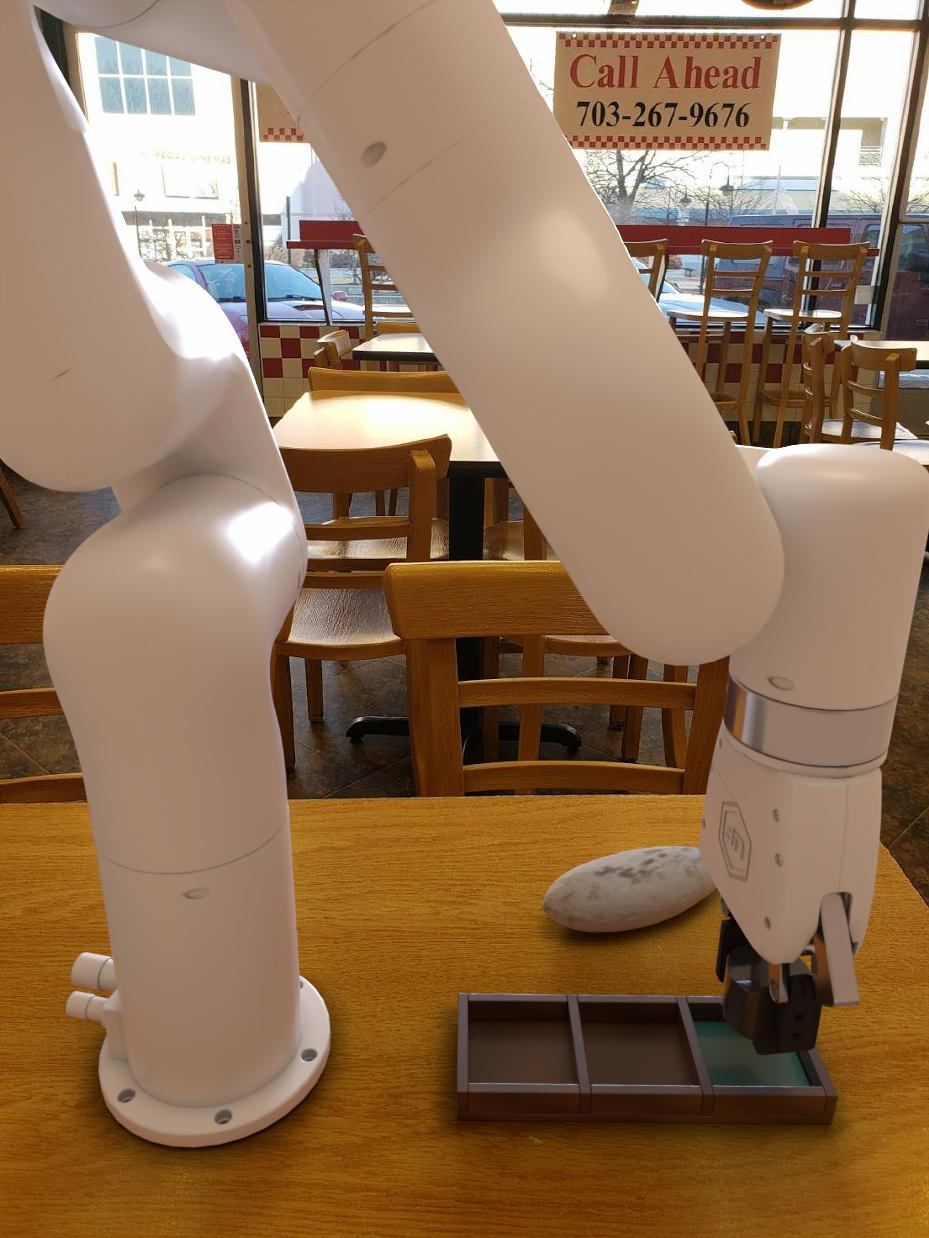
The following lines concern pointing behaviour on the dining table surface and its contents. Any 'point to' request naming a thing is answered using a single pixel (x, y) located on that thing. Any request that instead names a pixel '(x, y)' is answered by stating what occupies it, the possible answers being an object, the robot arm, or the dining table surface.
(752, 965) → the dark gray cylinder
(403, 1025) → the dining table surface
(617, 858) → the decorative stone
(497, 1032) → the divided tray
